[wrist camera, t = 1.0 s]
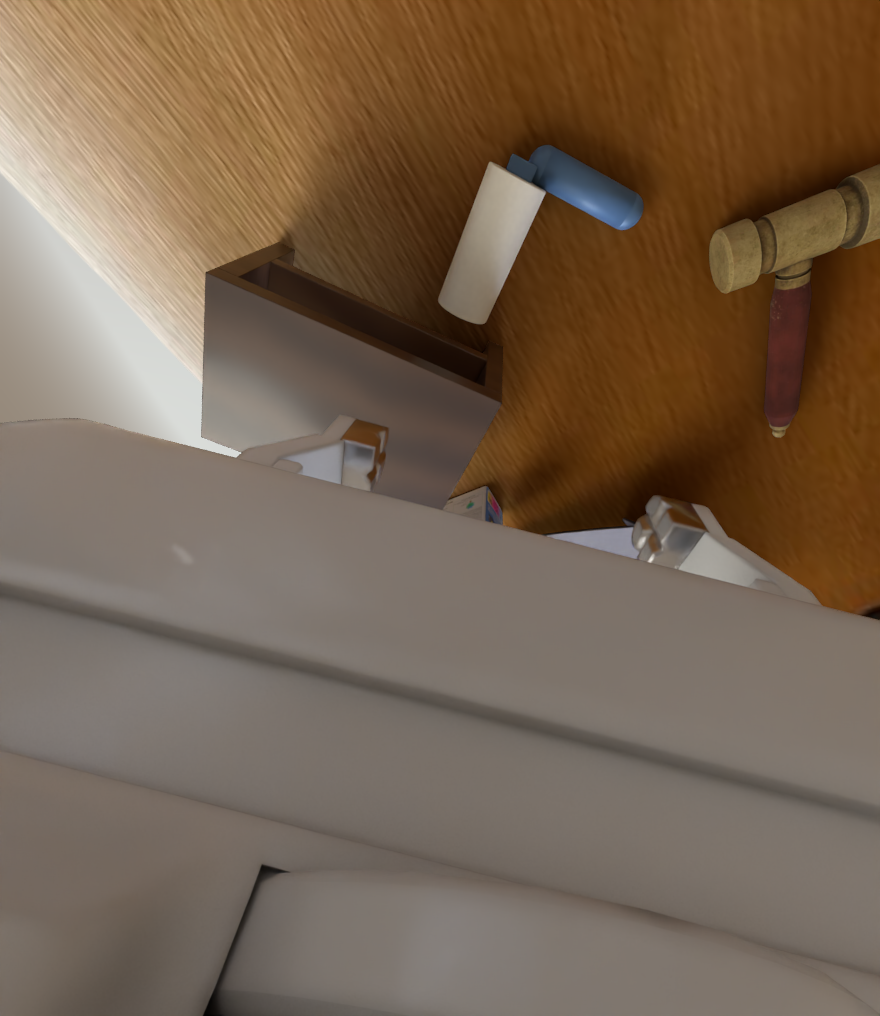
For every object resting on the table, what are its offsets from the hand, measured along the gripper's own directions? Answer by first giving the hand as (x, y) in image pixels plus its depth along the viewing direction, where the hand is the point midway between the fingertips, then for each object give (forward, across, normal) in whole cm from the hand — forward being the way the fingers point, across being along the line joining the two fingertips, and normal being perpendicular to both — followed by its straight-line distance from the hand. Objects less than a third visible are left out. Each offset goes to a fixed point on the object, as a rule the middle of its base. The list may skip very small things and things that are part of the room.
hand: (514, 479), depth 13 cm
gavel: (+32, -23, -3) cm, 40 cm away
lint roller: (+31, 0, -4) cm, 31 cm away
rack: (+31, +12, +8) cm, 35 cm away
